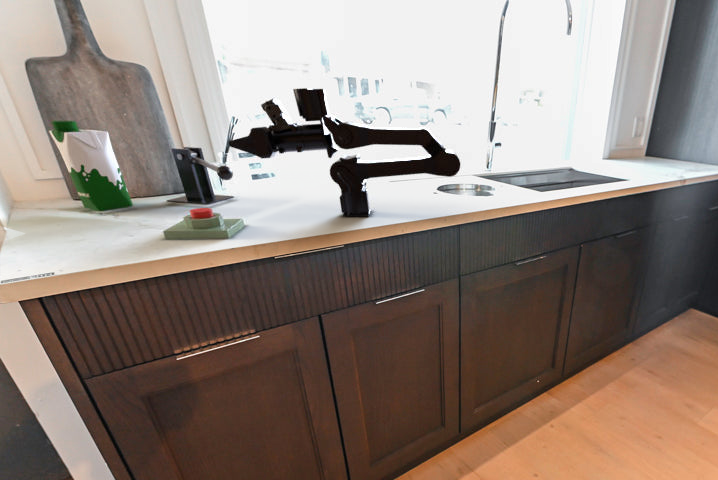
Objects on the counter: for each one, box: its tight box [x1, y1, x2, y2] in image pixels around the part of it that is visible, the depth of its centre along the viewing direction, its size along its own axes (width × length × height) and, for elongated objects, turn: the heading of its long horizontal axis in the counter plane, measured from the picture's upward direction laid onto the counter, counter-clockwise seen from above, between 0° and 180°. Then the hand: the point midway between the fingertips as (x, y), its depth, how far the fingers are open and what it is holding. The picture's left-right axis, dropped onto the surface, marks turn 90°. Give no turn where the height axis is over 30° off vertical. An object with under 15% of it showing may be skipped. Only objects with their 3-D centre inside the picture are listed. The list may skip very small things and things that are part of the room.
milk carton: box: [48, 120, 134, 215], centre depth 102 cm, size 9×9×20 cm
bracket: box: [166, 146, 235, 206], centre depth 114 cm, size 12×10×14 cm
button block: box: [162, 212, 246, 240], centre depth 92 cm, size 12×10×4 cm
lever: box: [190, 150, 234, 181], centre depth 112 cm, size 13×4×4 cm, turn 82°
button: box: [189, 207, 214, 219], centre depth 91 cm, size 4×4×2 cm
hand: (236, 142), depth 100 cm, fingers open, 9 cm apart
